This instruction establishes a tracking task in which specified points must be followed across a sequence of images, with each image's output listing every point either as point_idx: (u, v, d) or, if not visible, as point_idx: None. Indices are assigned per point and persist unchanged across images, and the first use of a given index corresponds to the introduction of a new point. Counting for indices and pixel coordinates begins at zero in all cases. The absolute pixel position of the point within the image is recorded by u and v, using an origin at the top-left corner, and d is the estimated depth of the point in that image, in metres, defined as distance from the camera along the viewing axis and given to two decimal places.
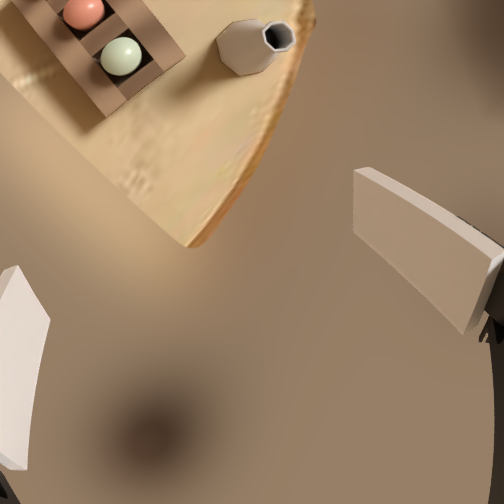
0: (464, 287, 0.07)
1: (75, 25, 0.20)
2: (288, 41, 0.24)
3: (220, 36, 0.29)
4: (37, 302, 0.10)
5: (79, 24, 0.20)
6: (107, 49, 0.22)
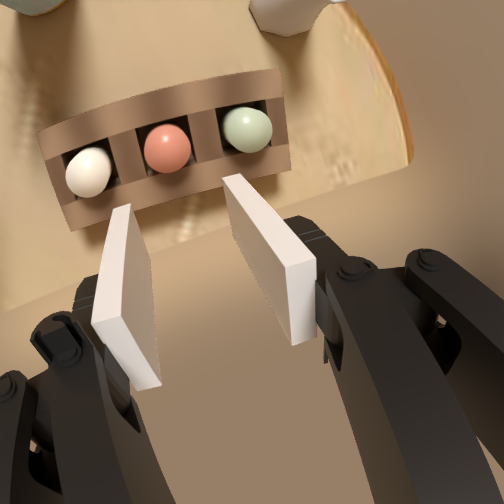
0: (280, 296, 0.08)
1: (184, 163, 0.25)
2: None
3: (260, 24, 0.25)
4: (141, 241, 0.12)
5: (186, 158, 0.25)
6: (235, 140, 0.25)
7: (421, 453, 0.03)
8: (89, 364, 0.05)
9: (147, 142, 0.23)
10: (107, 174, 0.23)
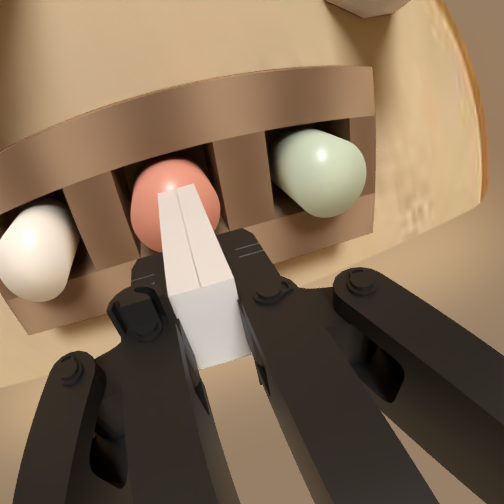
0: None
1: None
2: None
3: None
4: None
5: None
6: (305, 197, 0.14)
7: (350, 489, 0.03)
8: (170, 340, 0.06)
9: (136, 200, 0.12)
10: (65, 265, 0.12)
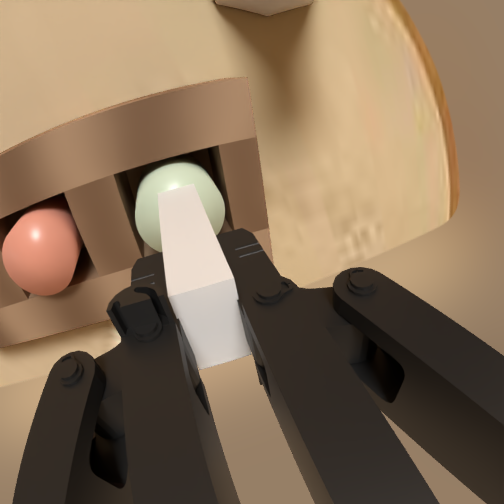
0: None
1: (69, 279, 0.13)
2: None
3: None
4: None
5: (69, 273, 0.12)
6: (151, 236, 0.13)
7: (350, 489, 0.03)
8: (170, 340, 0.06)
9: (4, 250, 0.11)
10: None
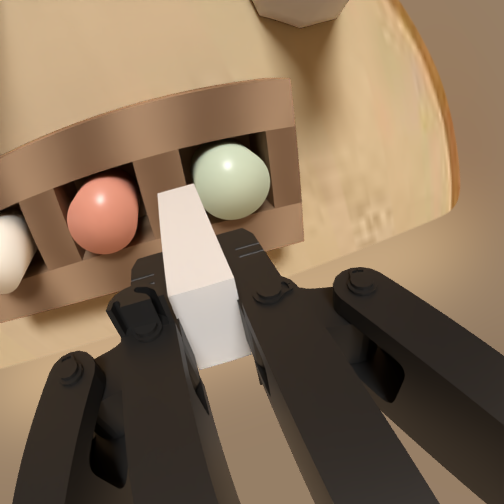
0: None
1: (129, 239, 0.16)
2: None
3: (260, 7, 0.15)
4: None
5: (131, 232, 0.15)
6: (209, 202, 0.16)
7: (350, 489, 0.03)
8: (170, 340, 0.06)
9: (70, 210, 0.14)
10: (19, 265, 0.13)
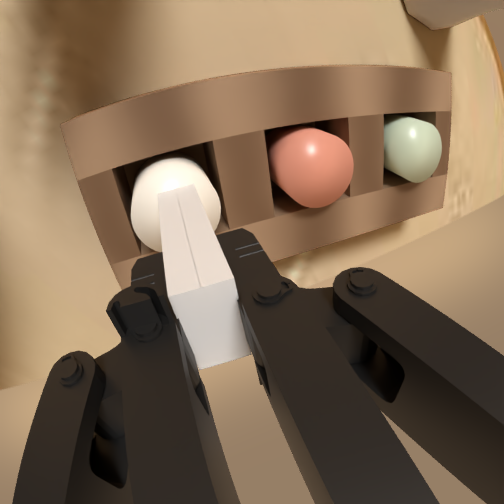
0: None
1: (340, 193, 0.16)
2: None
3: (410, 7, 0.15)
4: None
5: (344, 186, 0.15)
6: (405, 164, 0.16)
7: (350, 489, 0.03)
8: (170, 340, 0.06)
9: (292, 155, 0.14)
10: (218, 212, 0.13)
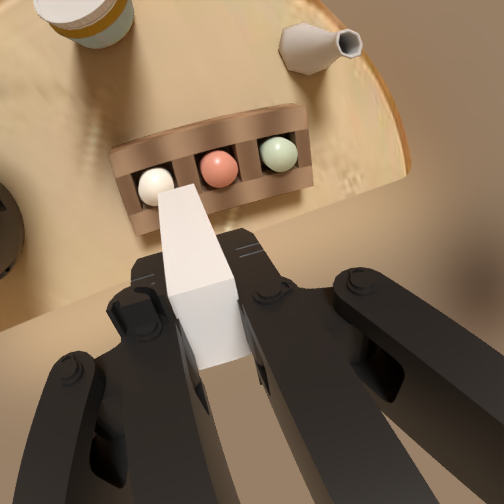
0: None
1: (232, 180, 0.34)
2: (351, 36, 0.24)
3: (288, 66, 0.33)
4: None
5: (234, 176, 0.33)
6: (270, 163, 0.34)
7: (350, 489, 0.03)
8: (170, 340, 0.06)
9: (205, 164, 0.32)
10: (173, 188, 0.32)
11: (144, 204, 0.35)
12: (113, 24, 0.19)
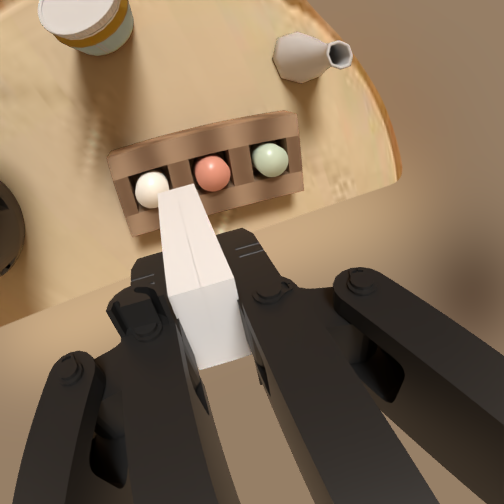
0: None
1: (225, 184, 0.35)
2: (342, 47, 0.26)
3: (282, 74, 0.34)
4: None
5: (227, 181, 0.35)
6: (262, 168, 0.35)
7: (350, 489, 0.03)
8: (170, 340, 0.06)
9: (199, 169, 0.33)
10: None
11: (140, 206, 0.36)
12: (113, 34, 0.20)
